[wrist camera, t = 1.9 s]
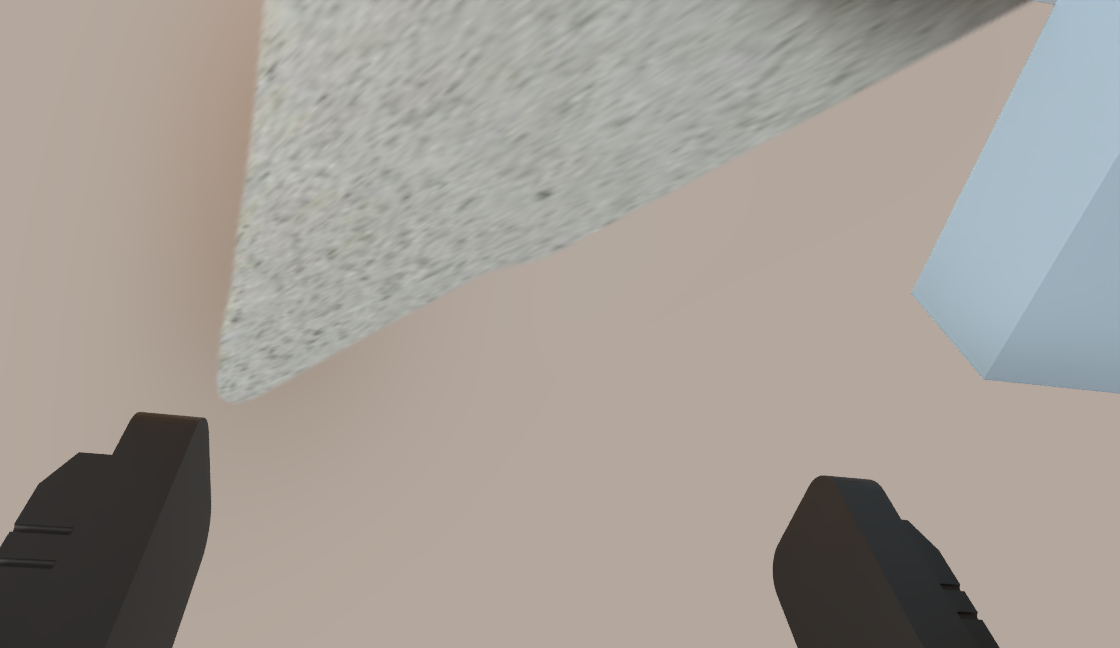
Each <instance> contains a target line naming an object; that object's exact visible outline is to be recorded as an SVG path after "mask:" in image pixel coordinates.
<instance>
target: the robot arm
mask: <svg viewBox="0 0 1120 648" xmlns="http://www.w3.org/2000/svg"><path fill="white" fill-rule="evenodd" d="M210 517H211V486H210V457H209V430H208V423H207V420H206V419H205V418H201V417H190V416H179V415H167V414H156V413H146V412H138V413H136V414H135V415H134V416H133V418H132V419H131V420H130V422H129V424H128V426H127V428H126V430H125V431H124V434H123V436H122V437H121V439H120V441H119V443H118V445H117V447H116V449H115V450H114V452H113V454H112V455H106V454H92V453H80V452H79V453H78V454H77V455H75V456H74V457H73V458H71V459H70V460H69V461H68V462H66V463H65V464H64V465H62V466H61V467H60V468H59V469H57V470H56V471H55V472H53V473H52V474H51V475H50V476H49V477H47V478H46V479H45V480H43V481H42V482H41V483H39V485H38V486H37V488H36V489H35V491H34V493H33V494H32V496H31V497H30V499H29V501H28V503H27V504H26V506H25V507H24V509H23V511H22V512H21V514H20V516H19V517H18V519H17V520H16V522H15V527H14V530H13V532H9V534H8V535H7V537H6V539H5V540H4V542H3V543H2V545H1V547H0V648H172V646H173V644H174V641H175V638H176V635H177V632H178V629H179V626H180V623H181V620H182V617H183V614H184V611H185V608H186V605H187V602H188V599H189V596H190V593H191V590H192V587H193V584H194V581H195V578H196V576H197V573H198V570H199V567H200V563H201V561H202V557H203V554H204V551H205V546H206V542H207V537H208V531H209V525H210ZM773 579H774V585H775V590H776V593H777V596H778V598H779V601H780V603H781V606H782V609H783V611H784V614H785V616H786V619H787V621H788V624H789V627H790V629H791V631H792V634H793V637H794V639H795V642H796V644H797V647H798V648H999V646H998V645H997V643H996V641H995V640H994V638H993V637H992V635H991V633H990V632H989V630H988V629H987V627H986V625H985V624H984V622H983V620H978V618H977V613H978V612H977V611H976V609H975V608H974V606H973V604H972V603H971V601H970V600H969V598H968V596H967V595H966V593H965V592H964V591H960V588H959V587H960V584H959V582H958V580H957V579H956V577H955V576H954V574H953V572H952V571H951V569H950V567H949V566H948V564H947V563H946V561H945V559H944V558H943V556H942V555H941V553H940V552H939V550H938V549H937V548H936V547H935V546H933V544H932V543H931V542H930V541H929V540H927V539H926V538H925V537H924V536H923V535H922V534H921V533H920V532H919V531H918V530H917V529H916V528H915V527H914V526H913V525H912V524H911V523H910V522H909V521H908V520H901V519H900V517H899V515H898V513H897V512H896V510H895V508H894V507H893V505H892V503H891V502H890V500H889V499H888V497H887V495H886V493H885V492H884V490H883V489H882V487H881V486H880V485H879V484H878V483H876V482H875V481H873V480H867V479H857V478H846V477H834V476H819V477H817V478H815V479H814V480H813V481H812V482H811V484H810V486H809V487H808V489H807V491H806V493H805V495H804V497H803V499H802V501H801V502H800V504H799V506H798V508H797V510H796V512H795V514H794V516H793V518H792V519H791V521H790V523H789V525H788V527H787V529H786V531H785V532H784V534H783V536H782V538H781V540H780V542H779V544H778V546H777V548H776V551H775V555H774V561H773Z"/></svg>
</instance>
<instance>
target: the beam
mask: <svg viewBox="0 0 1120 648" xmlns="http://www.w3.org/2000/svg"><path fill="white" fill-rule="evenodd" d="M911 294H912V295H913V296H914V298H915V299H916V300H917V301H918V302H919V304H920V305H921V306H922V307H923V308H924V309H925V311H926V312H927V313H928V314H929V315H930V317H931V318H932V319H933V320H934V321H935V322H936V324H937V325H938V326H939V327H940V328H941V330H942V331H943V332H944V333H945V334H946V335H947V337H948V338H949V339H950V340H951V341H952V342H953V344H954V345H955V346H956V347H957V348H958V350H959V351H960V352H961V353H962V354H963V356H964V357H965V358H966V359H967V360H968V362H969V363H970V364H971V365H972V366H973V367H974V369H975V370H976V371H977V372H978V373H979V375H980V376H981V377H982V378H983V379H984V380H994V381H1004V382H1013V383H1023V384H1033V385H1043V386H1053V387H1062V388H1072V389H1082V390H1091V391H1101V392H1111V393H1120V0H1057V2H1056V4H1055V6H1054V8H1053V10H1052V12H1051V14H1050V16H1049V18H1048V20H1047V22H1046V24H1045V26H1044V28H1043V30H1042V32H1041V34H1040V36H1039V38H1038V40H1037V42H1036V44H1035V46H1034V48H1033V50H1032V52H1031V54H1030V56H1029V58H1028V60H1027V62H1026V64H1025V66H1024V68H1023V70H1022V72H1021V74H1020V76H1019V78H1018V80H1017V82H1016V84H1015V86H1014V88H1013V90H1012V92H1011V94H1010V96H1009V98H1008V100H1007V102H1006V104H1005V106H1004V108H1003V110H1002V112H1001V114H1000V117H999V118H998V120H997V122H996V124H995V126H994V128H993V130H992V132H991V134H990V136H989V138H988V140H987V142H986V144H985V147H984V148H983V151H982V152H981V154H980V156H979V159H978V160H977V162H976V164H975V166H974V169H973V170H972V173H971V174H970V176H969V178H968V181H967V182H966V184H965V186H964V189H963V191H962V192H961V194H960V196H959V198H958V200H957V202H956V204H955V206H954V208H953V211H952V212H951V215H950V217H949V219H948V220H947V223H946V225H945V227H944V229H943V231H942V233H941V235H940V237H939V239H938V241H937V243H936V245H935V247H934V249H933V251H932V253H931V255H930V257H929V259H928V261H927V263H926V265H925V267H924V269H923V271H922V273H921V275H920V277H919V279H918V281H917V283H916V285H915V287H914V289H913V291H912V293H911Z"/></svg>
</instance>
